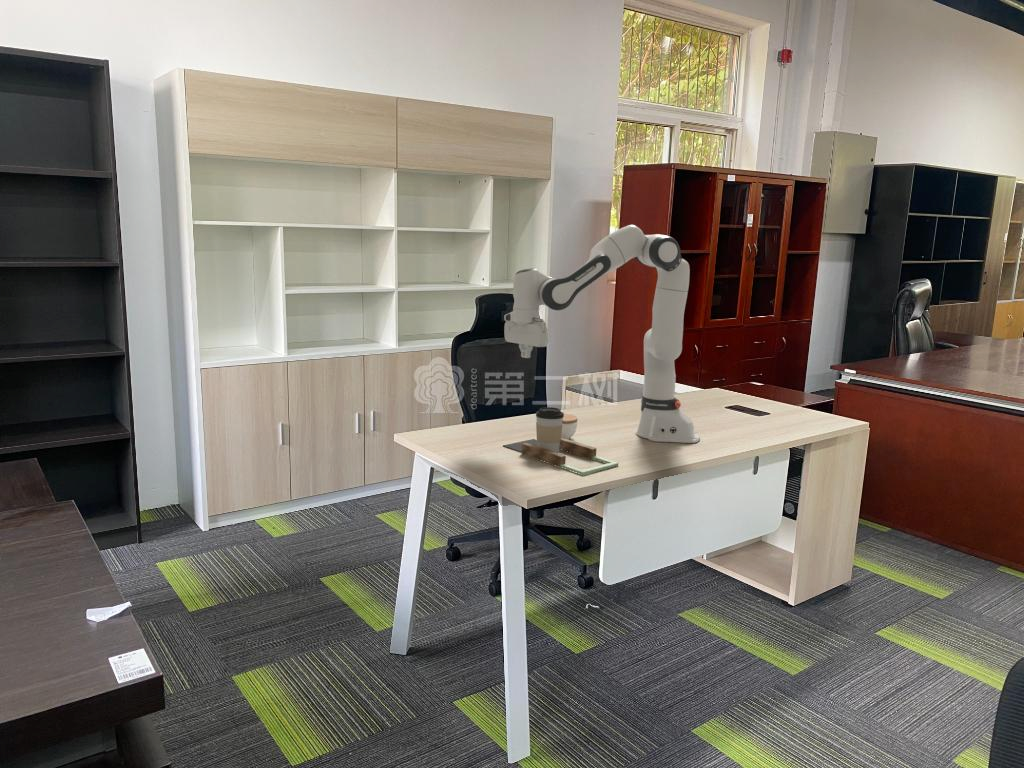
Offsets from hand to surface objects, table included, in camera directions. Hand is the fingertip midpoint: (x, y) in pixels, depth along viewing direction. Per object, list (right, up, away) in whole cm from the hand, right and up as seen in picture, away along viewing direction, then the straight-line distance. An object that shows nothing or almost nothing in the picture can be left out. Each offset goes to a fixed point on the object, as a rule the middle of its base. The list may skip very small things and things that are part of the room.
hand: (525, 357), depth 255 cm
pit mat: (+1, -30, -2) cm, 30 cm away
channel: (+10, -32, -13) cm, 36 cm away
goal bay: (+19, -35, -23) cm, 45 cm away
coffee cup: (+7, -32, -9) cm, 34 cm away
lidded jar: (+13, -28, +9) cm, 32 cm away
